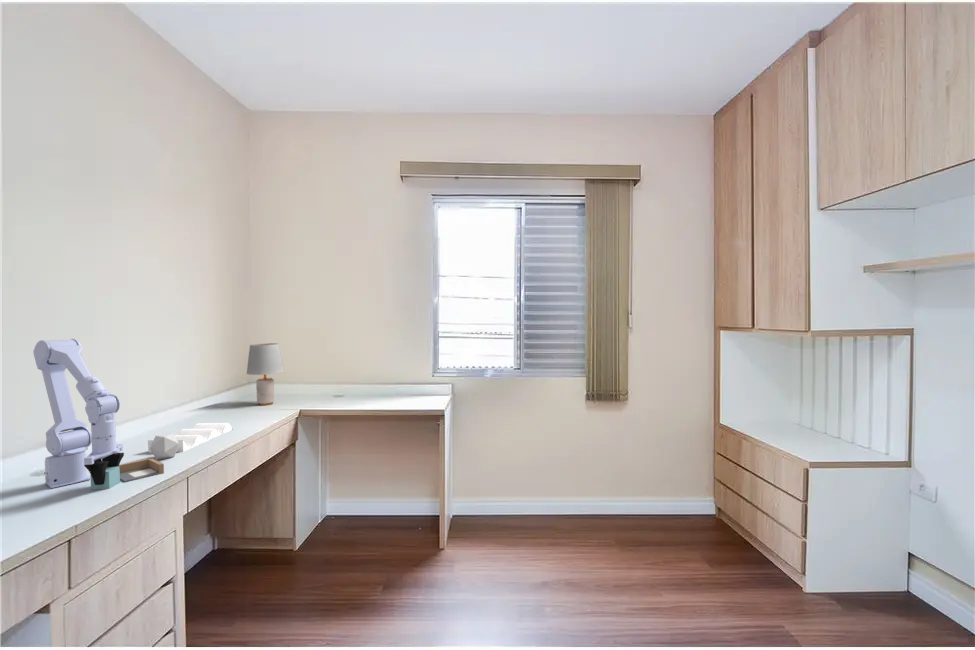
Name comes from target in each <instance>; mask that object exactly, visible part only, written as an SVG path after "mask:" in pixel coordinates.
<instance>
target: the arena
mask: <svg viewBox="0 0 975 650" xmlns="http://www.w3.org/2000/svg"><path fill="white" fill-rule="evenodd" d="M164 465H165V464H164V463H163V462H160V461H159V460H156V459H155V458H152V457H148V458H145V459H140V460H134V461H131V462H125V463H121V464H119V468H120V481H122V482H124V483H128V482H132V481H135V480H139V479H140V480H141V479H144V478H149V477H153V476H158V475H162V474H164V473H165V469H164V467H165V466H164Z"/></svg>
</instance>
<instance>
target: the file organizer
mask: <svg viewBox="0 0 975 650" xmlns="http://www.w3.org/2000/svg"><path fill="white" fill-rule="evenodd" d="M232 430H234V429H233V427H232V426H231V424H230V423H229V422H209V423H208V422H206V423H205V422H203V423H202V422H201V423H196V424H195V425H194V428H182V429H181V430H180V431H179V433H178V434H174V436H175V437H176V439H177V441H178V443H179V447H178V449H177V451H176V453H184V452H186V451H189V450H190V449H193V448H195V447H197V446H199V444H200V445H201V443H202V444H204V443H206V442H208V441H210V439H211V440H212V438H213V439H215V438H217V437H219V436H221V434H222V435H224V434H225V433H228V432H230V431H232ZM223 433H224V434H223ZM214 437H215V438H214ZM153 440H154V439H151V440H150V439H149V440H147V448H148V451H147V452H148V453H152V451H151V449H150V447H151V444H152V442H153Z"/></svg>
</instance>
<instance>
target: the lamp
mask: <svg viewBox="0 0 975 650" xmlns="http://www.w3.org/2000/svg"><path fill="white" fill-rule="evenodd" d="M247 358H248V359H247V365H246V366H247V368H246V375H249V376H258V375H259V376H260V375H263V377H259V378H257V379H256V380H255V386H256V390H255V391H256V403H257V404H258V406H270V405H271V406H272V404H274V403H275V379H274V378H273V377H267V375H275V374H281V373H283V372H284V366H283V360H282V356H281V350H280V344H279V343H272V342H271V343H254V344H250V345H249V350H248V357H247Z"/></svg>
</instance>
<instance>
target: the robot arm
mask: <svg viewBox="0 0 975 650" xmlns="http://www.w3.org/2000/svg"><path fill="white" fill-rule="evenodd" d="M32 353H33V357H34V360H35V364H36V368H37V369H38V370H40V371H41V374H42V378H43V381H44V385H45V390H46V394H47V398H48V402H49V405H50V410H51V414H52V417H53V421H54V424H53V425H52V426H50V428H49V429H48V430H47V431H46V432H45V437H46V439H45V440H46V441H45V447H46V450H47V452H48V453H49V454H51V455H50V456H46V457H45V459H44V472H45V473H44V478H45V479H44V480H45V482H44V484H46V486H48V487H49V488H51V489H55V488H58V487H64V486H68V485H72V484H73V485H74V484H77V483H81V482H85V481H89V480H90V481H91V476H92V478H93V481H94V484H95V485H103V484H104V481H105V472H106V467H117V466H119V465H120V463H121V462H122V459H123V458H124V456H125V453H124V452H123V450H124V445H123V444H120V443H119V444H117V432H116V431H117V430H116V429H117V428H116V413H117V412H119V410H120V406H121V405H120V401H119V400H120V399H119V398H118V396H117V395H116V394H114V393H112V392H110V391H107V389H106V388H105V386H104V385H103V383H102V382H101V380H100V379H99V378H98V377H97V376H93V375H91V372H90V371H89V368H88V367H87V365H86V363H85V361H84V359H83V358H82V354H83V346H82V344H81V343H80V341H79V340H78V339H76V338H70V339H54V340H52V339H51V340H50V339H49V340H43V339H42V340H41V339H40V340H39V341H37V342H36V343H35V346H34V349H33V352H32ZM66 369H67V371H68V372H69V373H70V374H71V376H73V378H74V379H75V380H76V384H75V388H76V390H77V391H78V393H79V394H80V396H81V397H82V398H83V400H84V402H85V403H86V404H85V406H84V411H85V412H86V415H87V417H88V421H89V423H90V429H91V430H90V429H89V427H88V424H87V422H86V421H82V420H81V419H78V418H77V415H76V411H75V407H74V404H73V400H72V396H71V392H70V388H69V383H68V380H67V376H66V372H65V371H66ZM90 446H91V452H90V453H89V454H88V456H87V455H86V451H88V450H89V448H88V447H90ZM87 471H88V472H89V474H91V476H89V475H88V474H87Z"/></svg>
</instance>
